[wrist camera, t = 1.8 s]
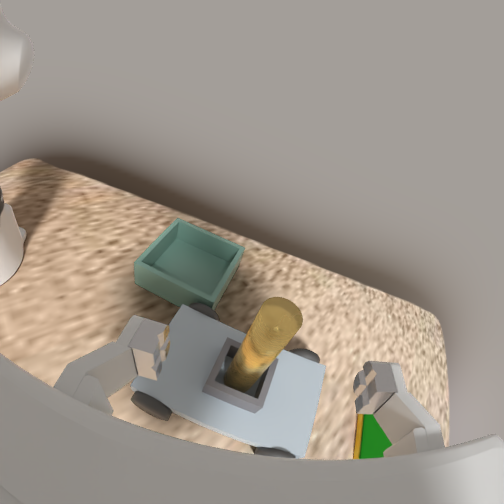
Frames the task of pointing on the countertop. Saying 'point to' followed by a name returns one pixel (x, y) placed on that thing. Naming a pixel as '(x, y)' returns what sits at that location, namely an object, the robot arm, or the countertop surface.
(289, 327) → the pin
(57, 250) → the countertop surface
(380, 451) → the dish sponge
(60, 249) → the countertop surface
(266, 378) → the trolley
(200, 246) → the tray
